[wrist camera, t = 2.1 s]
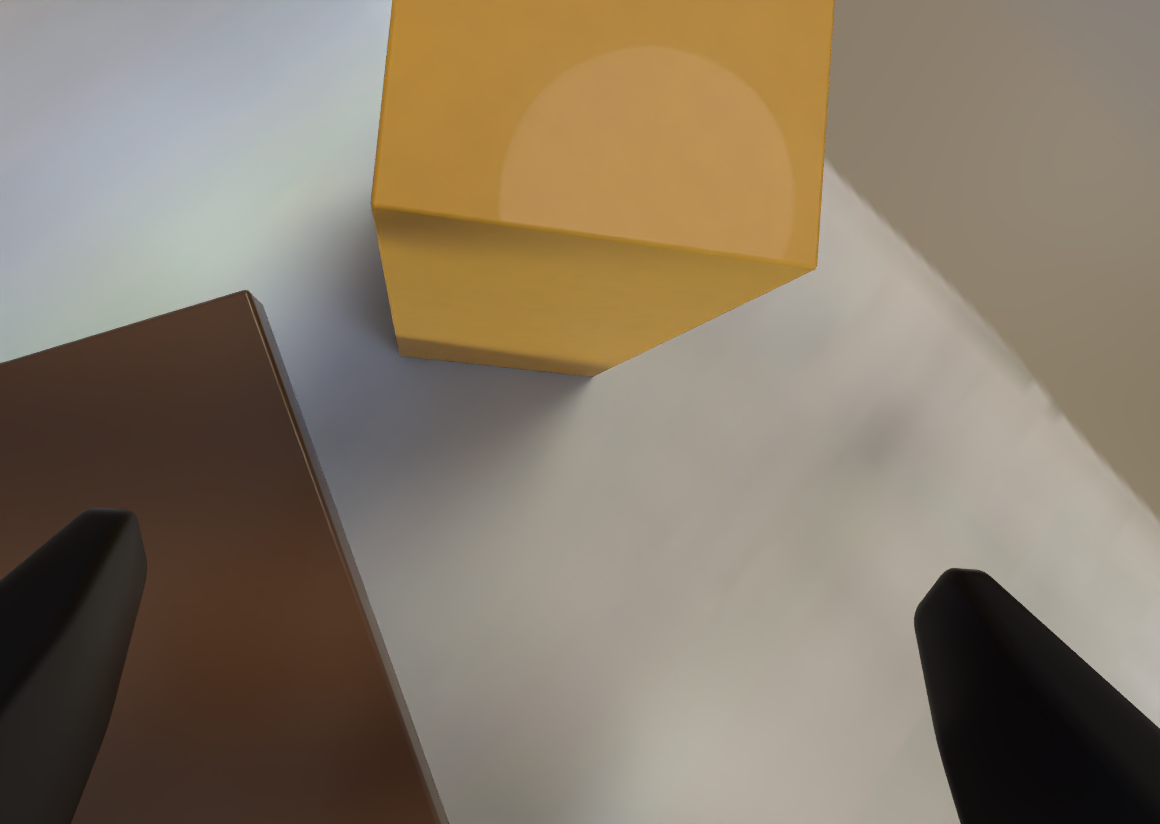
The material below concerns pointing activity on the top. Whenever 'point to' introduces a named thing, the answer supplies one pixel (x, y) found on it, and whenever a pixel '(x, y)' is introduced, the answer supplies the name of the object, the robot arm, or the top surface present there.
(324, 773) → the board stand
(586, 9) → the block
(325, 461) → the top surface
